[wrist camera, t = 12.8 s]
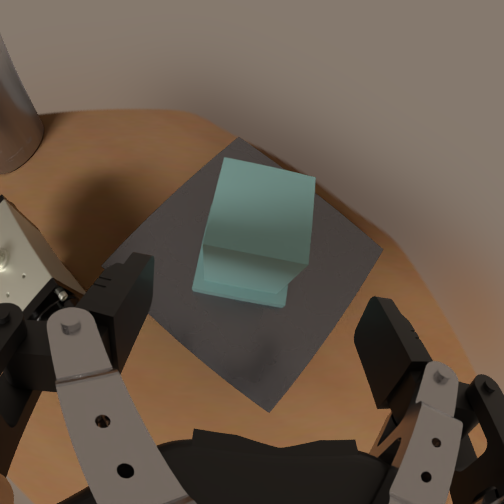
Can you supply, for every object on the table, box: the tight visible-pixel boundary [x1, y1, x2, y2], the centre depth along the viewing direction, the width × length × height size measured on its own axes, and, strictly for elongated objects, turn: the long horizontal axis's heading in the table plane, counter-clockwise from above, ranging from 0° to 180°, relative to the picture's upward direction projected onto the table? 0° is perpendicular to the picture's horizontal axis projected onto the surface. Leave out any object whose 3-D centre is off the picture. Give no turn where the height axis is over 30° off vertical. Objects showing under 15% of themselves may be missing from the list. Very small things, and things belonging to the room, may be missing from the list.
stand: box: [102, 137, 383, 412], centre depth 25 cm, size 16×16×5 cm
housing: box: [192, 157, 316, 308], centre depth 19 cm, size 6×7×8 cm
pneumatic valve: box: [0, 195, 86, 321], centre depth 18 cm, size 6×12×12 cm, turn 49°
